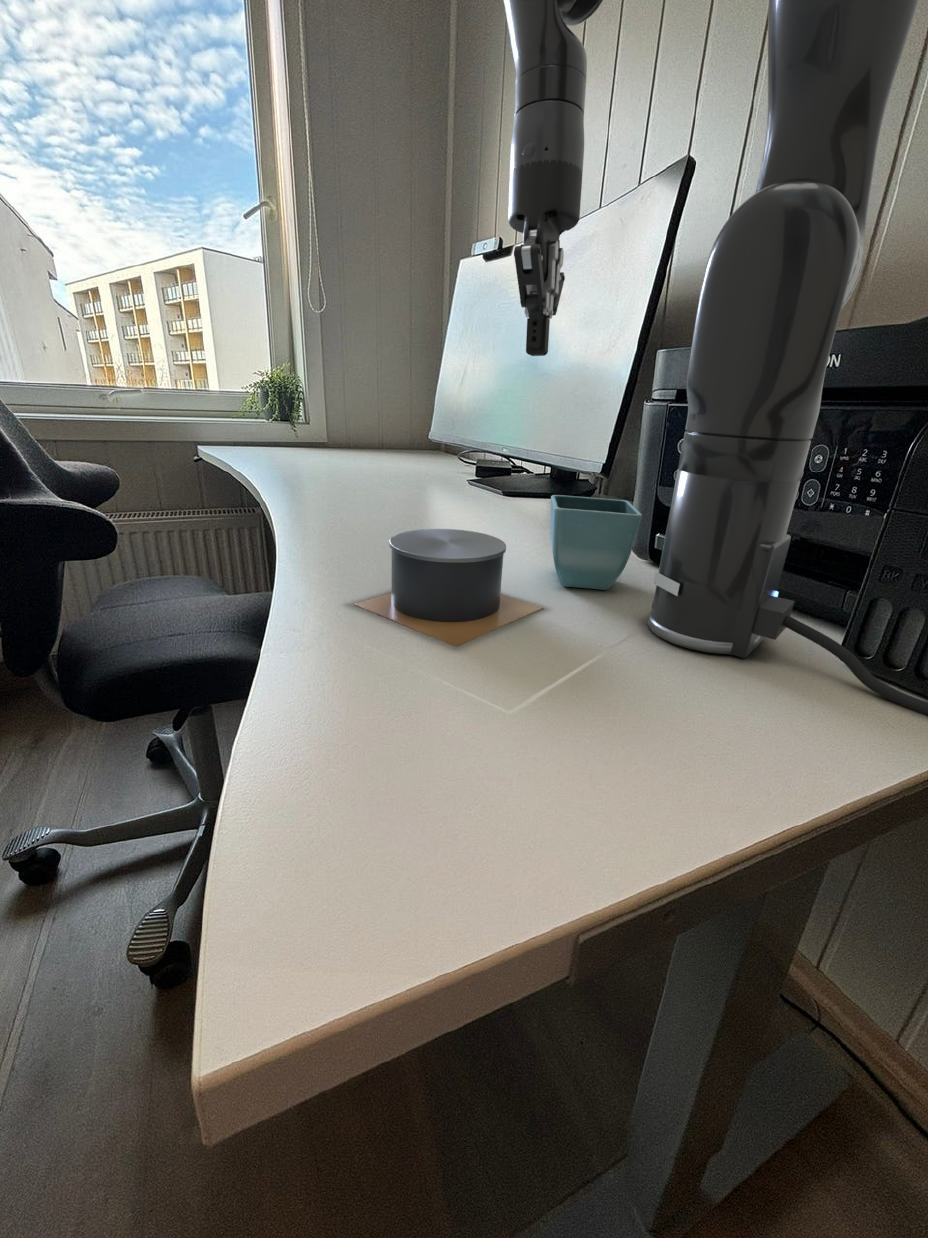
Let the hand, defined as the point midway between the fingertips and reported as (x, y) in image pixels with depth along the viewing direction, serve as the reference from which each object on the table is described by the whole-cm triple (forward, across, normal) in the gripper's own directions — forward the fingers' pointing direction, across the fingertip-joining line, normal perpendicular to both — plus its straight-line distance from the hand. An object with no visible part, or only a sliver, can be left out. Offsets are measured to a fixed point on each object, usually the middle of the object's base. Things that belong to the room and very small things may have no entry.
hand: (536, 354), depth 64 cm
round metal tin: (+24, -20, +3) cm, 31 cm away
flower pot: (+25, -6, -8) cm, 27 cm away
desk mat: (+24, -20, +2) cm, 32 cm away
